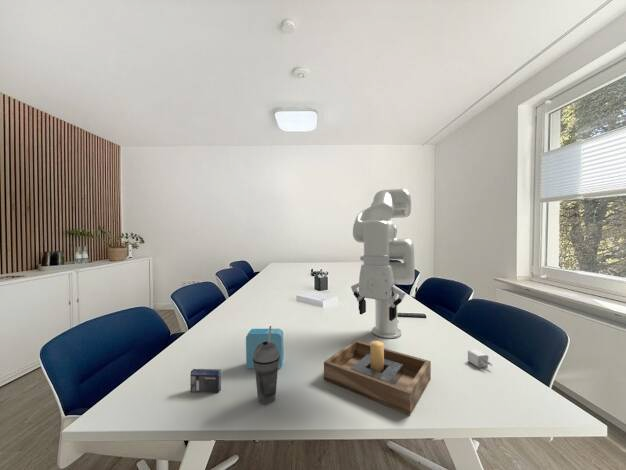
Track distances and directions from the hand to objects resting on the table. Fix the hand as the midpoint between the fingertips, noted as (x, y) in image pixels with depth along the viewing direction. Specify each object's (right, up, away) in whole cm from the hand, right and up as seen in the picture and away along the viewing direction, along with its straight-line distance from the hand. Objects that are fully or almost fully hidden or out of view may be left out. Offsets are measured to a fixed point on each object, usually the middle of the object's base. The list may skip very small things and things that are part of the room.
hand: (376, 316), depth 80 cm
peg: (0, -18, 0) cm, 18 cm away
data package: (-36, -20, +9) cm, 42 cm away
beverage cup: (-32, -20, -9) cm, 39 cm away
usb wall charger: (+37, -19, +7) cm, 42 cm away
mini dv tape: (-51, -20, -5) cm, 55 cm away
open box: (0, -19, 0) cm, 19 cm away
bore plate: (0, -19, 0) cm, 19 cm away
